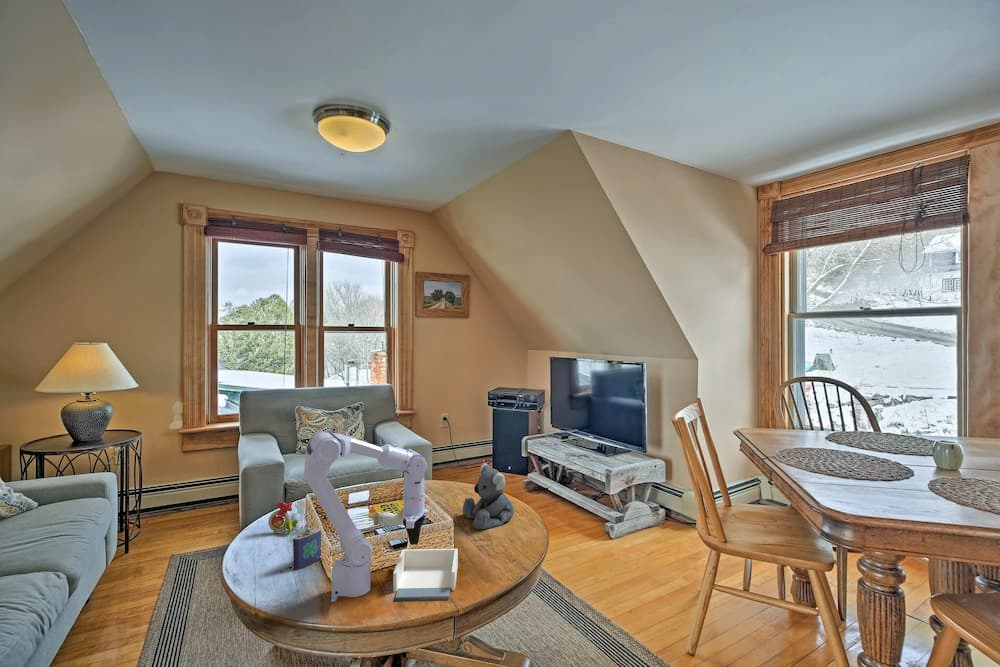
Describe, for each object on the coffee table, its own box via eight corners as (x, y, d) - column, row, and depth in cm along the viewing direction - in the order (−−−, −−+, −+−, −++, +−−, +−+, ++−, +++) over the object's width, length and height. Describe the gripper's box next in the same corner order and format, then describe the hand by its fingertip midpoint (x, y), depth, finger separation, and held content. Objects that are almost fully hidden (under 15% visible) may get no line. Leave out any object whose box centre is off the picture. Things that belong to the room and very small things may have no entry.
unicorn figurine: (425, 548, 149) (425, 506, 149) (365, 547, 150) (365, 505, 150) (430, 538, 156) (430, 498, 156) (373, 537, 157) (372, 497, 157)
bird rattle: (272, 543, 158) (298, 530, 159) (258, 514, 157) (284, 501, 158) (278, 535, 164) (303, 523, 165) (264, 507, 163) (289, 495, 165)
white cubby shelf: (393, 596, 122) (393, 573, 122) (402, 570, 135) (402, 549, 135) (454, 594, 123) (454, 572, 122) (457, 569, 136) (457, 548, 136)
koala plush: (460, 515, 176) (459, 463, 176) (503, 507, 184) (502, 457, 184) (477, 532, 161) (477, 476, 161) (523, 523, 168) (523, 469, 168)
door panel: (398, 592, 123) (394, 602, 118) (398, 588, 123) (394, 598, 118) (450, 591, 123) (448, 601, 118) (450, 587, 123) (448, 597, 118)
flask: (318, 555, 144) (318, 521, 144) (324, 558, 143) (324, 523, 143) (291, 568, 137) (291, 532, 136) (297, 571, 135) (297, 534, 135)
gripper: (424, 504, 124) (425, 555, 125) (431, 486, 139) (431, 532, 139) (398, 504, 124) (398, 555, 124) (407, 486, 139) (407, 532, 139)
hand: (414, 543), depth 132 cm, fingers closed
